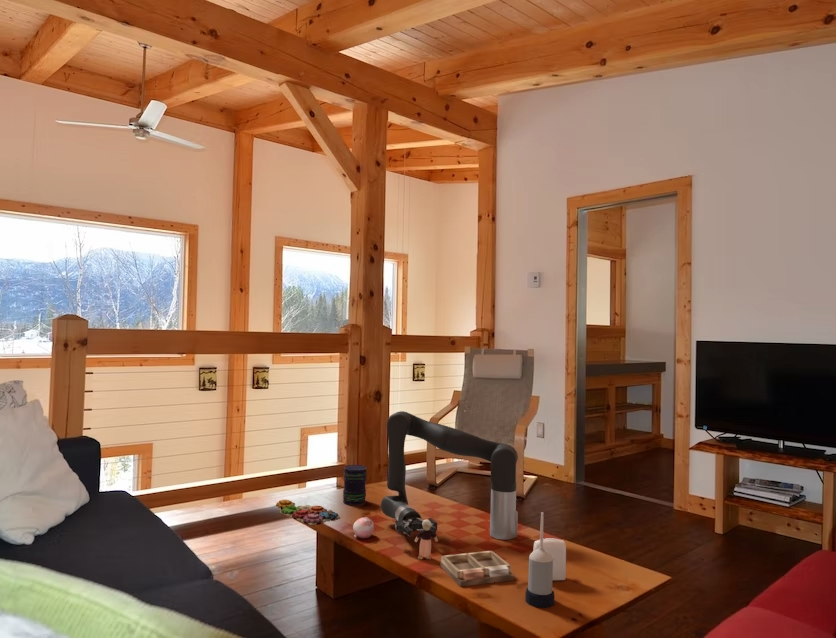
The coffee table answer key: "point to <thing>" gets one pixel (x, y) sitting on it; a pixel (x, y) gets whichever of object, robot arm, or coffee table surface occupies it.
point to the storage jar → (354, 485)
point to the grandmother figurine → (425, 540)
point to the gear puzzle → (306, 512)
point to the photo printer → (555, 555)
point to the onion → (363, 528)
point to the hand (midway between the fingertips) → (422, 532)
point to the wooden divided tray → (476, 568)
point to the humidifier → (540, 576)
